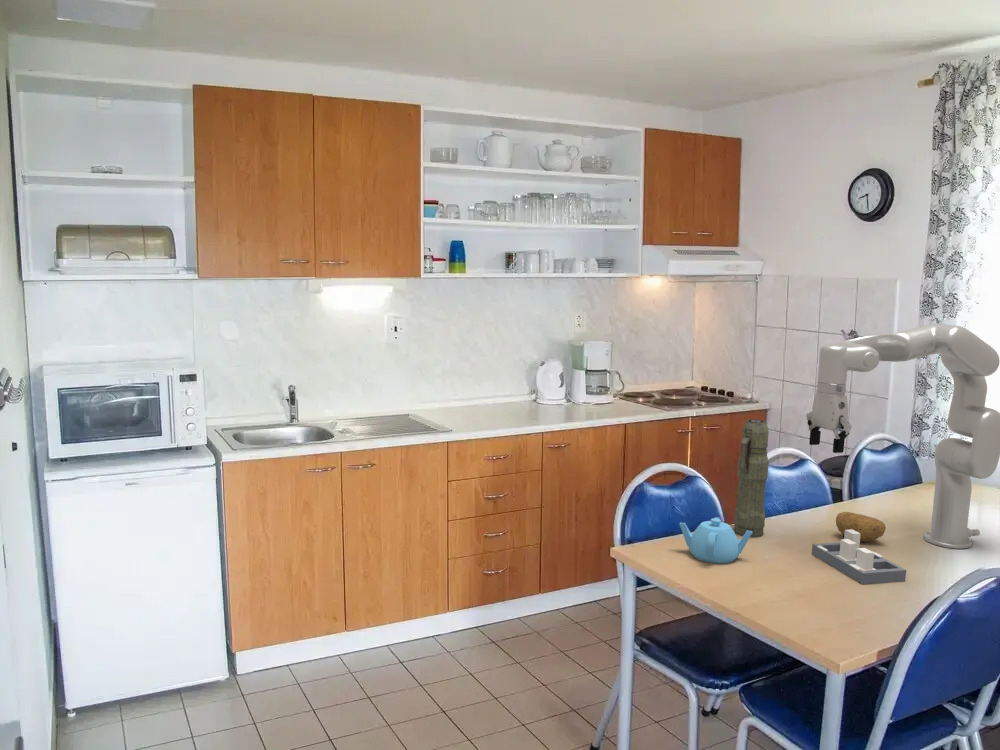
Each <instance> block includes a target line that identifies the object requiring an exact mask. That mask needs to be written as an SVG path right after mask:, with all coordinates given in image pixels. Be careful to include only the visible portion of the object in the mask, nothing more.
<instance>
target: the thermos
mask: <svg viewBox="0 0 1000 750" xmlns="http://www.w3.org/2000/svg"><path fill="white" fill-rule="evenodd" d="M769 431H770V430H769V428H768V424H767V422H766V421H764V420H763V419H756V418H755V419H754V418H751V419H747V420H745V421H744V425H743V427H742V429H741V441H740V442H741V444H740V454H739V456H738V460H737V473H736V475H737V478H738V481H737V482H738V484H737V496H736V498H737V500H736V507H735V509H734V516H733V524H734V526H733V528H734V529H733V531H734V533H735V535H738V536H740V537H743V536H744V534H745V533H746V531H747V530H748V531H752V534H751V536H750V538H760V537H762V536H764V528H765V525H766V523H765V521H766V511H765V508H764V507H765V496H766V495H765V494H766V482H767V480H768V475H769V458H768V447H769V446H768V444H769V433H770V432H769Z"/></svg>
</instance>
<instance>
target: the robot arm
mask: <svg viewBox="0 0 1000 750" xmlns="http://www.w3.org/2000/svg"><path fill="white" fill-rule="evenodd" d="M936 354H940V360H941V363H942V364H943V366H944V367H945V369H947V371H948V372H949V374H950V376H951V377H952V381H953V390H952V391H953V392H952V398H951V401H950V405H949V406H950V407H949V411H948V417H947V426H948V429H949V430H950V431H951V432H953V433H955V434H958V435H961V436H962V437H963V436H964V437H968V438H971V439H972V440H971V441H968V440H964V439H962V438H961V439H960V438H956V437H948V438H944V439H942V440H940V441H939V442H938V444H937V445H936V447H935V450H934V463H935V465H934V466H935V484H934V485H935V486H934V492H933V505H932V514H931V521H930V522H931V523H930V531H927V532H925V533H924V534H923V535H924V536H923V538H924V540H925V541H927V542H928V543H930V544H932V545H935V546H939V547H943V548H948V549H955V550H957V549H962V550H963V549H968V548H971V547H972V544H973V543H972V540H971V539H970V537H977V536H980V535H981V531H980V529H978V528H976V529H970V527H968V523H969V515H970V507H971V497H972V491H973V489H972V480H971V478H973V479H980V480H983V479H987V478H989V477H991V476H993V475H994V473H995V471H996V470H997V467H998V464H999V461H1000V412H999V411H997V410H996V409H994V408H990V407H986V400H987V394H988V384H987V380H986V377H989V376H991V375H992V374H995V372H996V371H997V370H998V368H999V367H1000V356H999V353H998V352H997V351H996V350H995V349H994V347H993V346H991V345H990V344H988V343H987V342H985V341H984V340H982V339H981V338H980V337H979V336H978V335H976V334H975V333H973V332H972V331H970V330H969V329H967V328H966V327H963V326H960V325H955V324H946V323H932V324H927V325H922V326H919V327H914V328H910V329H906V330H902V331H898V332H896V331H895V332H887V333H883V334H882V333H881V334H875V335H867V336H861V337H856V338H850V339H847V340H843V341H841V342H838V343H837V344H831V343H830V344H828V343H827V344H823V345H822V346H821V347H820V350H819V359H818V367H817V368H818V370H817V381H816V391H815V394H814V398H813V403H812V409H811V411H809V412H808V413H806V414H805V415H806V416H805V417H806V420H807V425H808V431H810V432H809V443H808V444H809V445H810V446H816V445H818V446H819V445H820V444H821V432H822V431H821V429H824V430H828V431H831V432H832V433H833V435H834V437H835V438H833V443H832V445H833V446H832V453H834V454H840V453H844V452H845V440H846V439H847V438H848V437H849V435H850V432H851V430H852V429H853V425H852V424H851V423H850V422H849V402H848V401H849V400H848V396H847V395H846V391H847V389H846V387H847V378H848V371H849V372H850V371H851V372H859V373H869V372H872V371H873V370H875V369H876V368H877V367H878V366H879V363H880V362H891V363H893V362H896V363H897V362H907V361H911V360H915V359H920V358H923V357H928V356H931V355H936Z"/></svg>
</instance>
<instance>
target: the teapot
mask: <svg viewBox="0 0 1000 750" xmlns="http://www.w3.org/2000/svg"><path fill="white" fill-rule="evenodd" d="M679 528H680V529H681V532H682V535H683V538H684V541H685V543H686V546H687V547H688V549H689V552H690V553H691V554H692V556H693V557H694V558H696V559H697V560H700V561H702V562H705V563H710V564H711V563H712V564H729V563H732V562H734V561H735V560H736V559H737V558H738V557H739V556H740V554H742V552H743V550H744V548H745V546H746V545H747V543H748V542H749V539H750V538H751V537H750V536H751V534H752V531H748V530H747V531H746V533H745V534H744V536H741V538H740V539H739V540H738V537H737V534H736V533H735V532H734V529H733V528H732V526H731V525H730V524H729V523H726V522H723V521H722V519H720V517H717V516H715V517H714V518H710V520H706V521H702V522H701V523H699V525H698V526H697V527H696V528H695V530H694V531H693V533H691V531H690V529H689V527H688V526H687V524H686V522H679Z"/></svg>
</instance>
